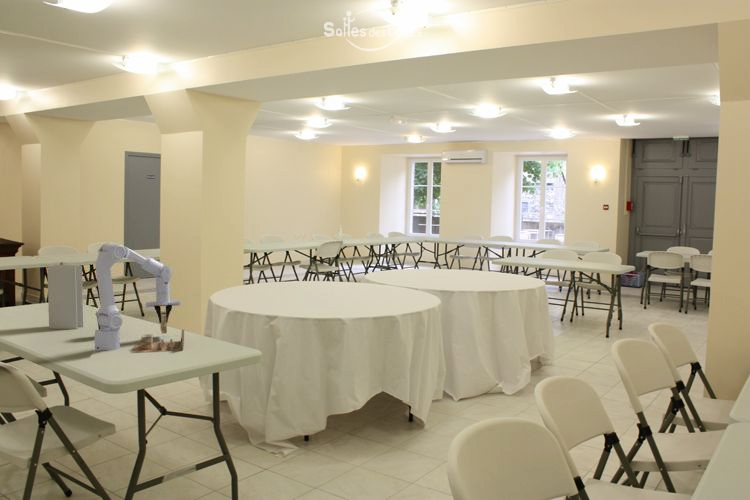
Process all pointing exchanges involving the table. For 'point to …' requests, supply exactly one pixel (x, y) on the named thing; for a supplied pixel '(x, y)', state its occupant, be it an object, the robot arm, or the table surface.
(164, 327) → the plywood sheet
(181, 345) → the walnut rack
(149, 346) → the block
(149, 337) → the upper offcut
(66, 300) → the tall grey upright box
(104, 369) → the table surface
